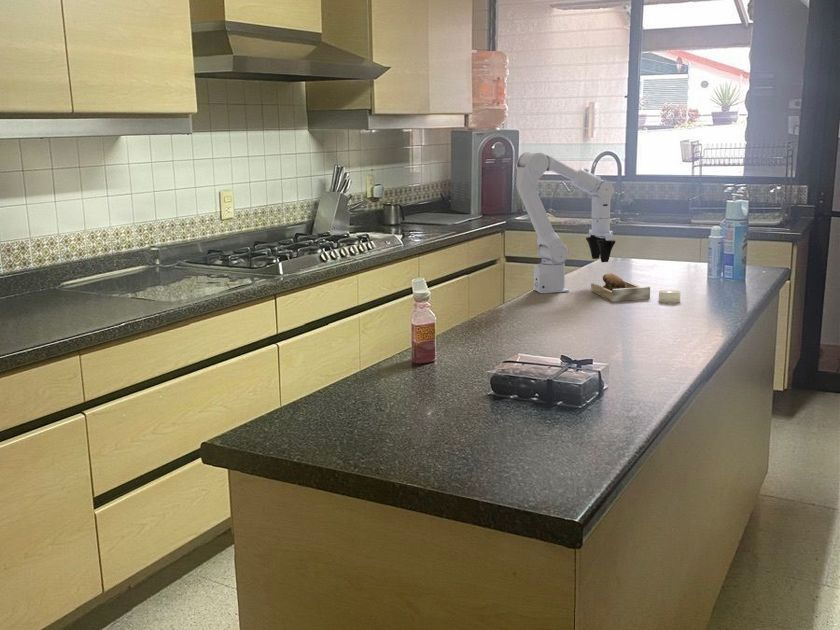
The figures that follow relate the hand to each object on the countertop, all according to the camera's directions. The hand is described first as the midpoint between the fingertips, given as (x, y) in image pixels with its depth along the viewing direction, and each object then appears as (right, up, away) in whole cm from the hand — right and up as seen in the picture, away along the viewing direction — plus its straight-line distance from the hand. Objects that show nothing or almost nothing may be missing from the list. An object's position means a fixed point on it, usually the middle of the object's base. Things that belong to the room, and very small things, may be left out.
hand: (600, 260), depth 273 cm
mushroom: (+2, -11, -9) cm, 14 cm away
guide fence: (+3, -11, -13) cm, 17 cm away
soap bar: (+15, -14, -24) cm, 32 cm away
